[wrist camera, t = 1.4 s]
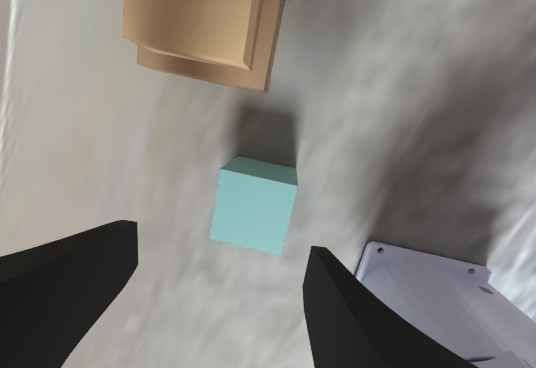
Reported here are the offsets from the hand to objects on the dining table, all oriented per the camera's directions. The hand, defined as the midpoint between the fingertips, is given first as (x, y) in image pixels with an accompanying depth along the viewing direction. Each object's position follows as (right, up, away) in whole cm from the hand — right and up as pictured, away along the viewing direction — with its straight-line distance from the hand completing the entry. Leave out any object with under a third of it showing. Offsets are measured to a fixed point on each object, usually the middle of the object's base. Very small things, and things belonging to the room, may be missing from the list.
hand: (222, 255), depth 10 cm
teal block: (+1, +3, +9) cm, 10 cm away
